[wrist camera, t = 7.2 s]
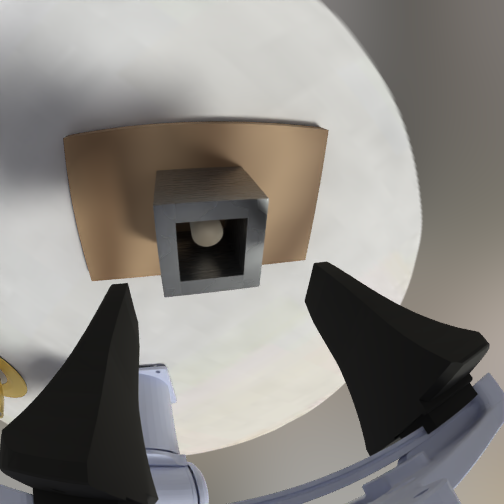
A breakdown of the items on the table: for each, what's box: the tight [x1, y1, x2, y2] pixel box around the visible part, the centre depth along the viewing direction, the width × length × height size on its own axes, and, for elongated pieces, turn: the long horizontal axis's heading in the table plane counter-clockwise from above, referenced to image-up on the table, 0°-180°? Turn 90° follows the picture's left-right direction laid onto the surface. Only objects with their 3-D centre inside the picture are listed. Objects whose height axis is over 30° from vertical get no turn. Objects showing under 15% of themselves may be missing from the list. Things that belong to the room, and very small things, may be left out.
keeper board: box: [63, 121, 328, 281], centre depth 16 cm, size 16×10×4 cm, turn 85°
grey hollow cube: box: [153, 167, 269, 297], centre depth 15 cm, size 5×5×5 cm
